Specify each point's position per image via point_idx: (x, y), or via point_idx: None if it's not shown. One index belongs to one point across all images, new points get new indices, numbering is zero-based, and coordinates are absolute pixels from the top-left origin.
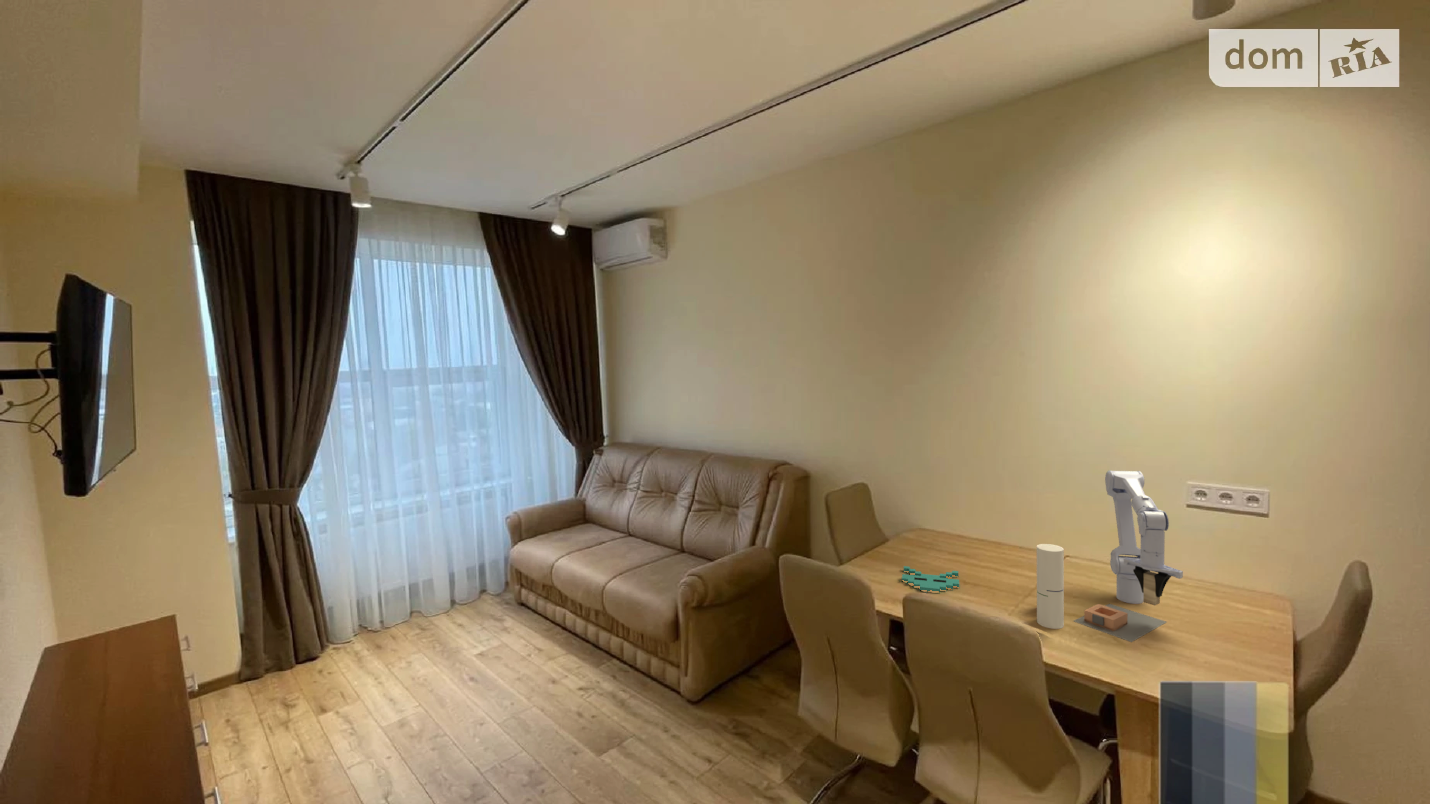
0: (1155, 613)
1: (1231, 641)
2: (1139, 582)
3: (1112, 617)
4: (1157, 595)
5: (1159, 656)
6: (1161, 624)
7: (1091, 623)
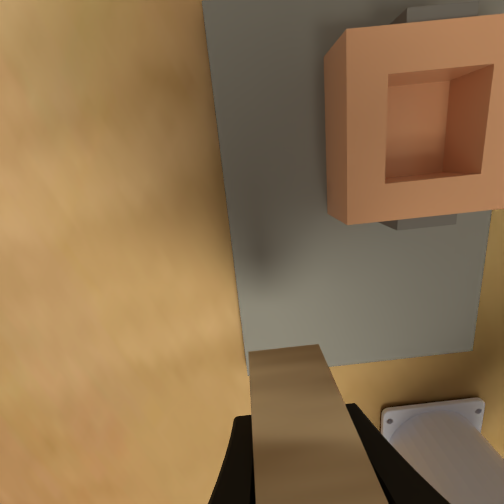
0: None
1: (64, 419)
2: (425, 481)
3: (371, 69)
4: (241, 424)
5: (67, 13)
6: (245, 335)
7: None
